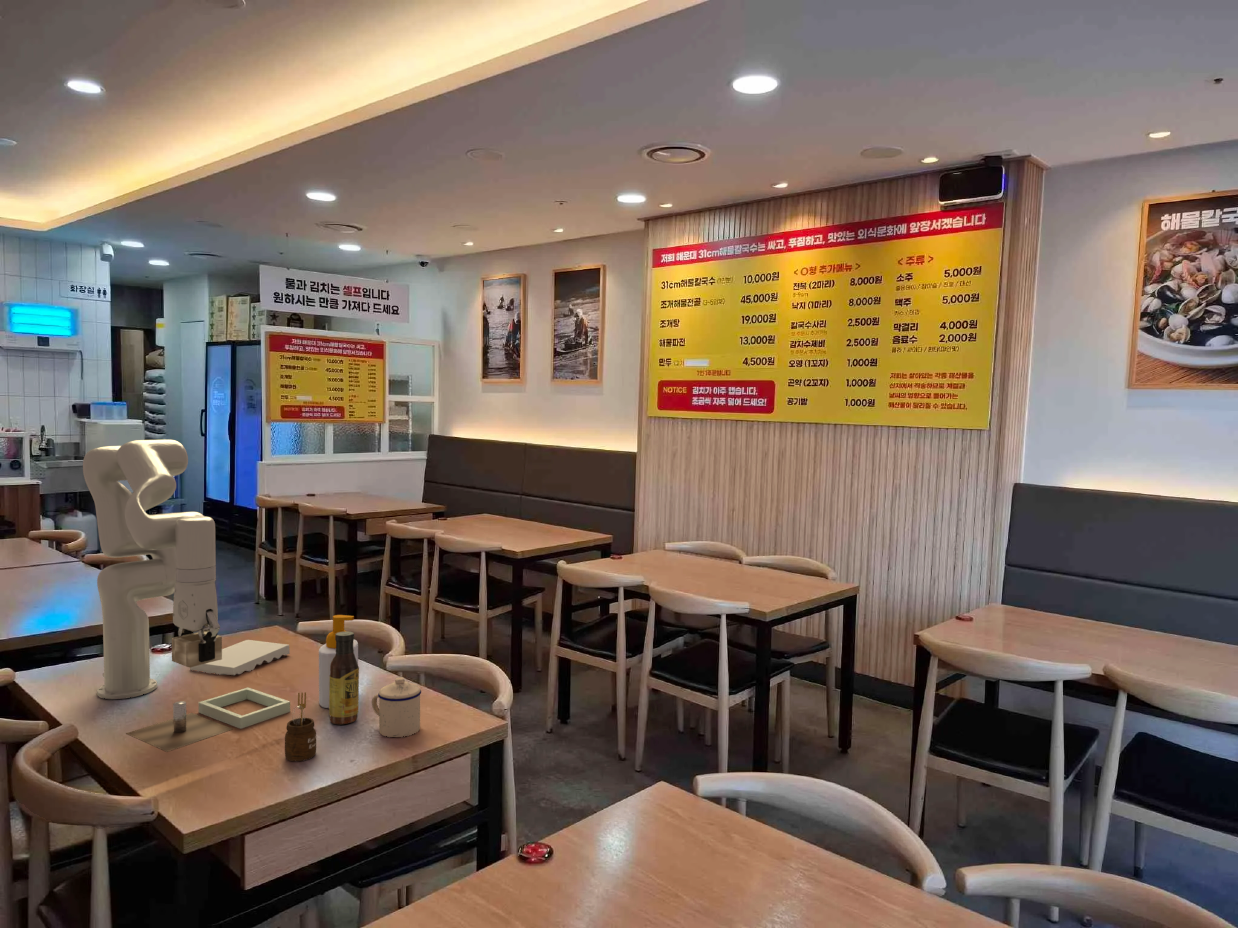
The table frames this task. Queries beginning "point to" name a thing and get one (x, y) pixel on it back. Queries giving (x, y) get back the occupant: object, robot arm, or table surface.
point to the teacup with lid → (398, 708)
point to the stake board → (168, 740)
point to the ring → (192, 650)
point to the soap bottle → (331, 657)
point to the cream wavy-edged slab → (244, 657)
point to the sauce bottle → (344, 681)
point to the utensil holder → (300, 736)
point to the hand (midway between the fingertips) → (197, 656)
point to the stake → (179, 717)
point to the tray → (241, 721)
